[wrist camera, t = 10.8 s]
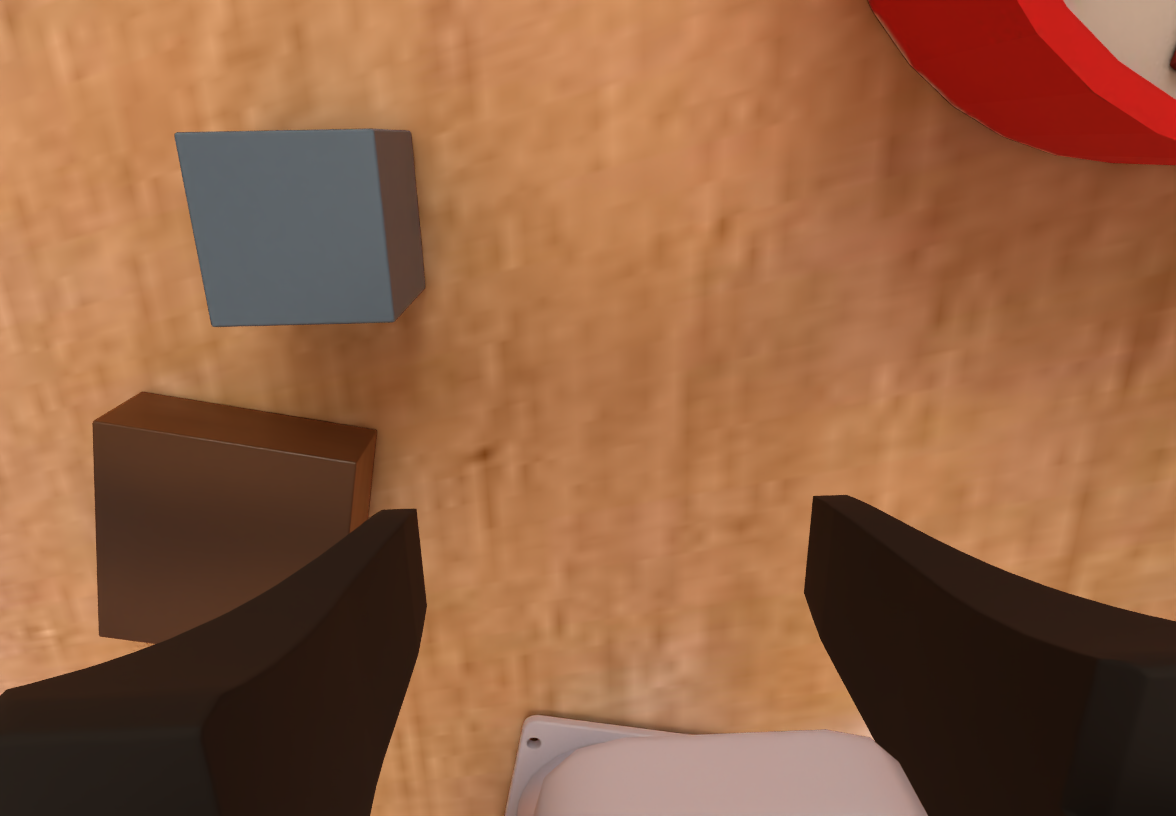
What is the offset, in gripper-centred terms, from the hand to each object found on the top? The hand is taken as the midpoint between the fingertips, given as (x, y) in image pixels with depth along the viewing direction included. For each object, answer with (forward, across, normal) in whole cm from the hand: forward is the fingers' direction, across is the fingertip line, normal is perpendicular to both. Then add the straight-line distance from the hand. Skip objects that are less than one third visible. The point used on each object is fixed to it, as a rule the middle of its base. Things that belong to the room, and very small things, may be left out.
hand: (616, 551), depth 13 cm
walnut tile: (+10, +11, +4) cm, 16 cm away
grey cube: (+10, +7, -5) cm, 14 cm away
